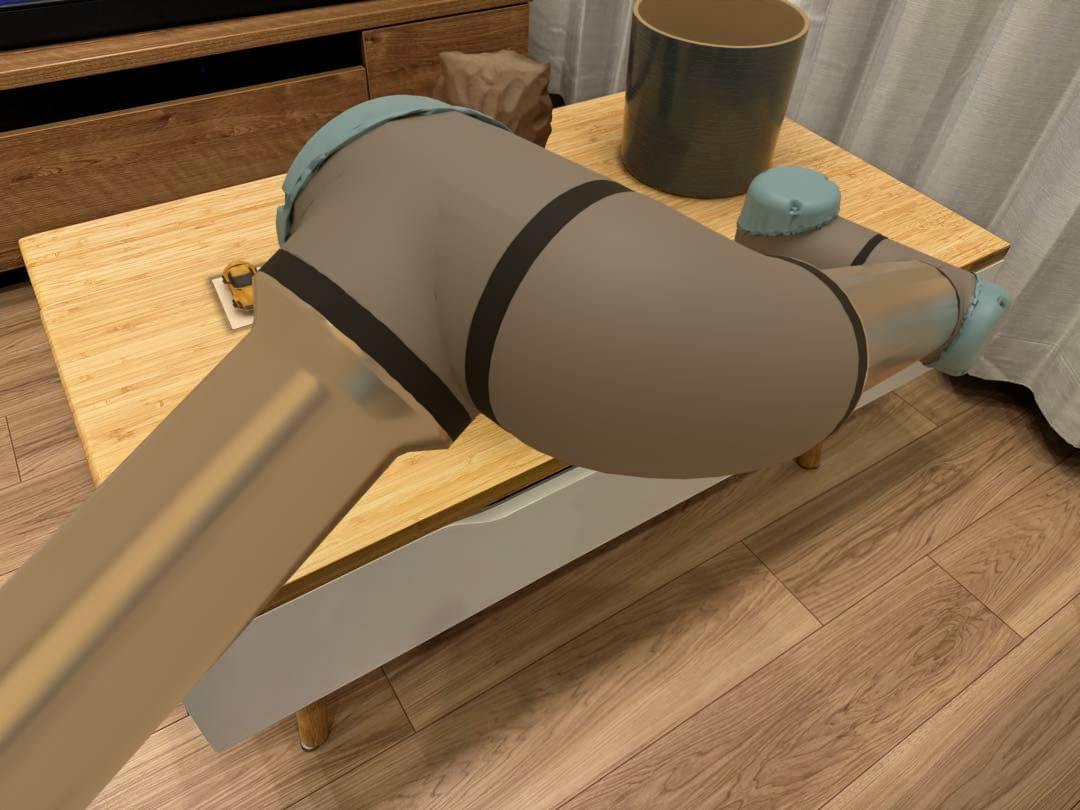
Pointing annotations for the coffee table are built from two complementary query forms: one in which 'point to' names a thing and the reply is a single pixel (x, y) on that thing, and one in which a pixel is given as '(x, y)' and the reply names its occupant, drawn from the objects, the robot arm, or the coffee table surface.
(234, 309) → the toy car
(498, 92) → the brown wrinkled upright block
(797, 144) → the coffee table surface
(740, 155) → the planter
